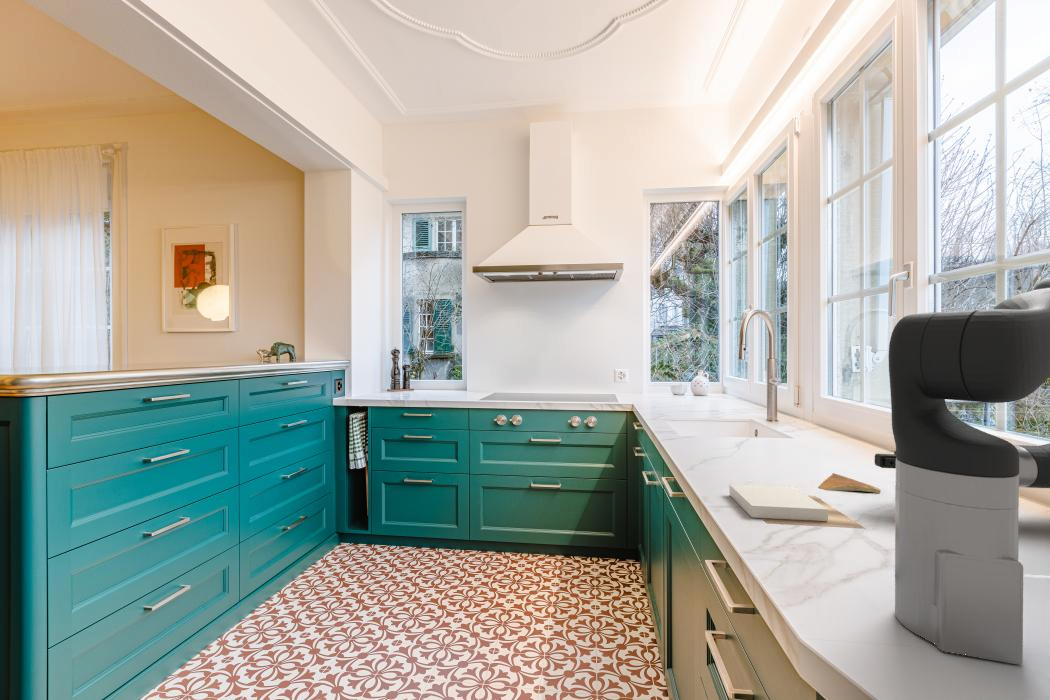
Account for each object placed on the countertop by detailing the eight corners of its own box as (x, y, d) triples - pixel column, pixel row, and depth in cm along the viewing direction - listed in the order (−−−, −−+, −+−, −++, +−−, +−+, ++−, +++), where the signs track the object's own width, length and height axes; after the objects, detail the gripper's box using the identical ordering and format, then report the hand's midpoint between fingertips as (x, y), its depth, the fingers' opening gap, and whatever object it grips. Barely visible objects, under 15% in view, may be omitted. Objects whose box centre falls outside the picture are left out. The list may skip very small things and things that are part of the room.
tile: (827, 509, 75) (752, 505, 76) (827, 521, 75) (752, 517, 76) (794, 487, 87) (729, 484, 88) (794, 498, 87) (729, 495, 88)
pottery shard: (818, 493, 92) (818, 481, 92) (817, 481, 100) (817, 470, 100) (883, 502, 87) (883, 489, 87) (876, 489, 95) (876, 477, 95)
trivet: (865, 530, 72) (865, 528, 72) (766, 525, 74) (766, 522, 74) (814, 497, 88) (814, 495, 88) (734, 494, 90) (734, 492, 90)
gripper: (956, 435, 83) (855, 432, 86) (1025, 451, 70) (903, 447, 73) (955, 475, 83) (854, 471, 86) (1024, 499, 70) (903, 493, 73)
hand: (877, 460), depth 79 cm, fingers closed
